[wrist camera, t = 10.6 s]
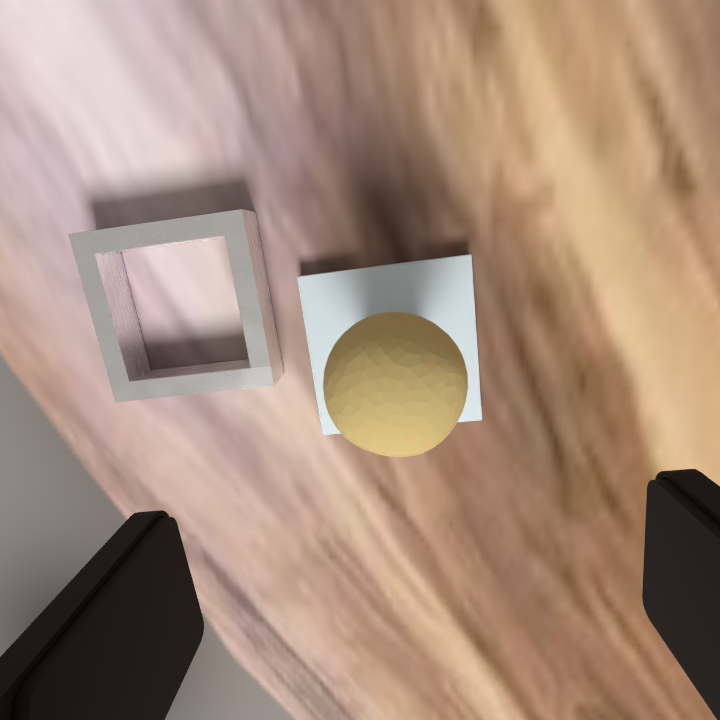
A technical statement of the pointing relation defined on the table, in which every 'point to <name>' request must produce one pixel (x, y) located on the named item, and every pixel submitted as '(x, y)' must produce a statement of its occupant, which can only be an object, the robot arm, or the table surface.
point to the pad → (392, 294)
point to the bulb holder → (120, 321)
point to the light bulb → (395, 384)
